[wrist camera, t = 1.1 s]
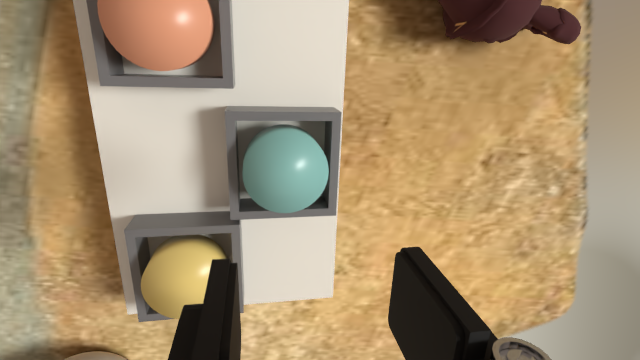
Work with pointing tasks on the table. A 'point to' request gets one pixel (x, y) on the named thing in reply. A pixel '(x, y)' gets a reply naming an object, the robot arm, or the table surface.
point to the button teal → (284, 169)
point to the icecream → (507, 20)
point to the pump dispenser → (96, 356)
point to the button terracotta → (158, 31)
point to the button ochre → (179, 273)
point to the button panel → (221, 143)
